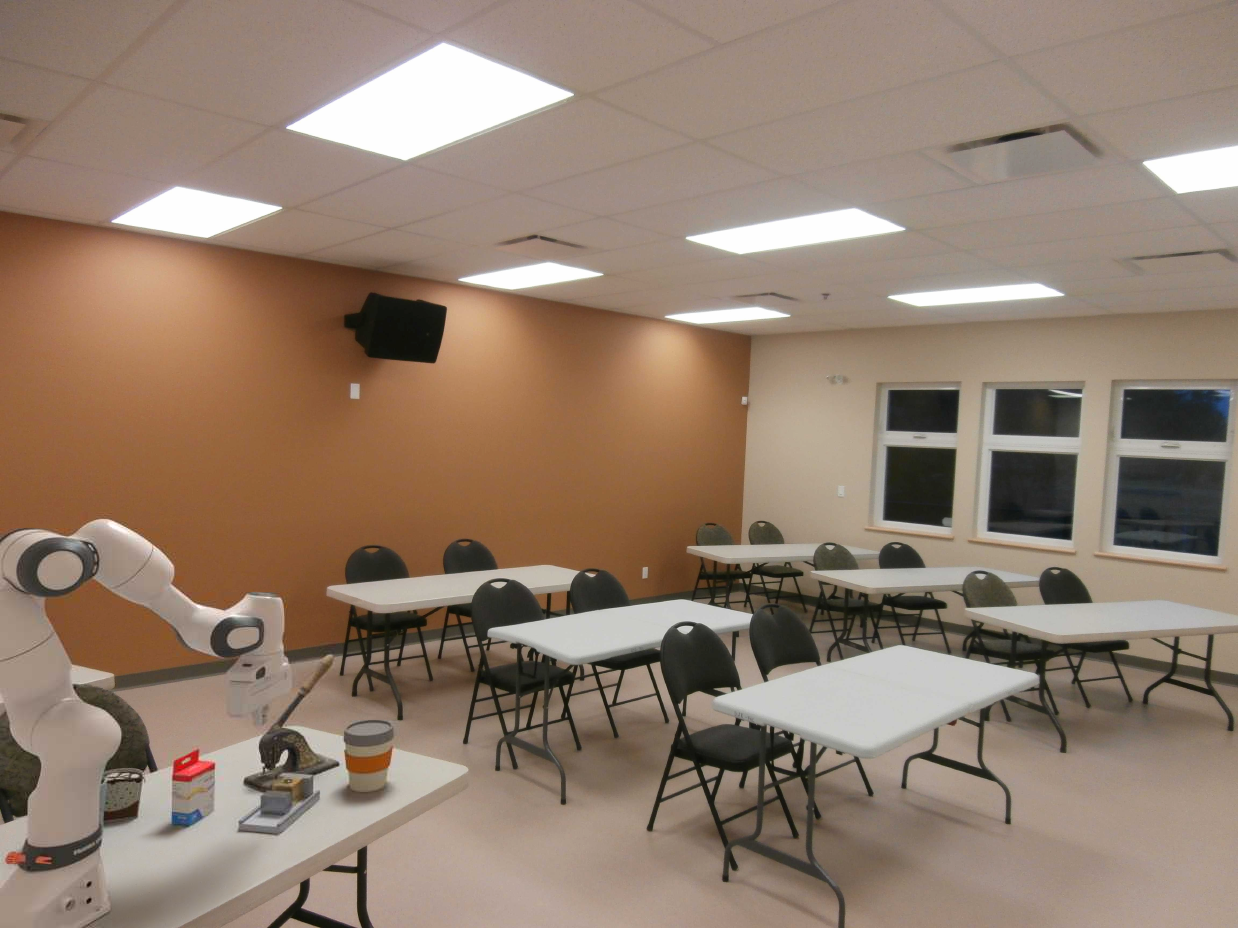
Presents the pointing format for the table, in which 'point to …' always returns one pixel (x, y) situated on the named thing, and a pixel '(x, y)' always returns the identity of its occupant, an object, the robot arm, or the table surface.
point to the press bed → (278, 821)
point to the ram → (276, 802)
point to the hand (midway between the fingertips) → (260, 724)
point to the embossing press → (290, 743)
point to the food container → (122, 794)
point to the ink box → (192, 789)
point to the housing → (290, 788)
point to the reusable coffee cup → (368, 753)
